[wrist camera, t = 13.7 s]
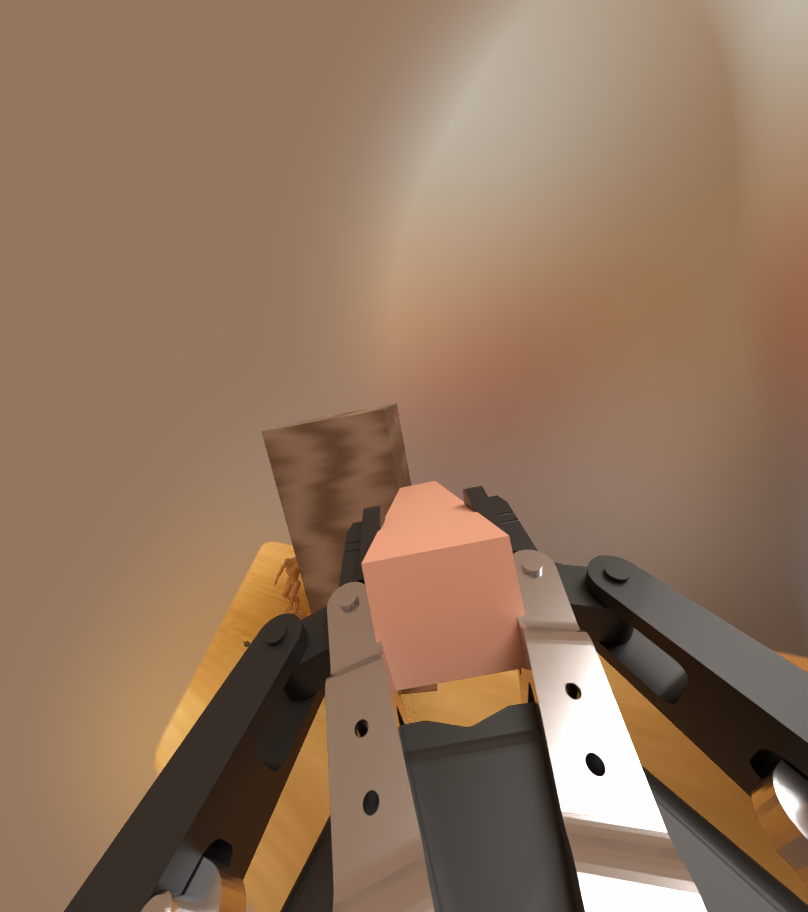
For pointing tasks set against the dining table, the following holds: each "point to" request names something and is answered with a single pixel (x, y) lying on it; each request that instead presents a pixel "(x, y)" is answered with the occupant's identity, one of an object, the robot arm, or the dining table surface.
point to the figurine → (292, 586)
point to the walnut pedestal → (335, 487)
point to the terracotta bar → (442, 590)
